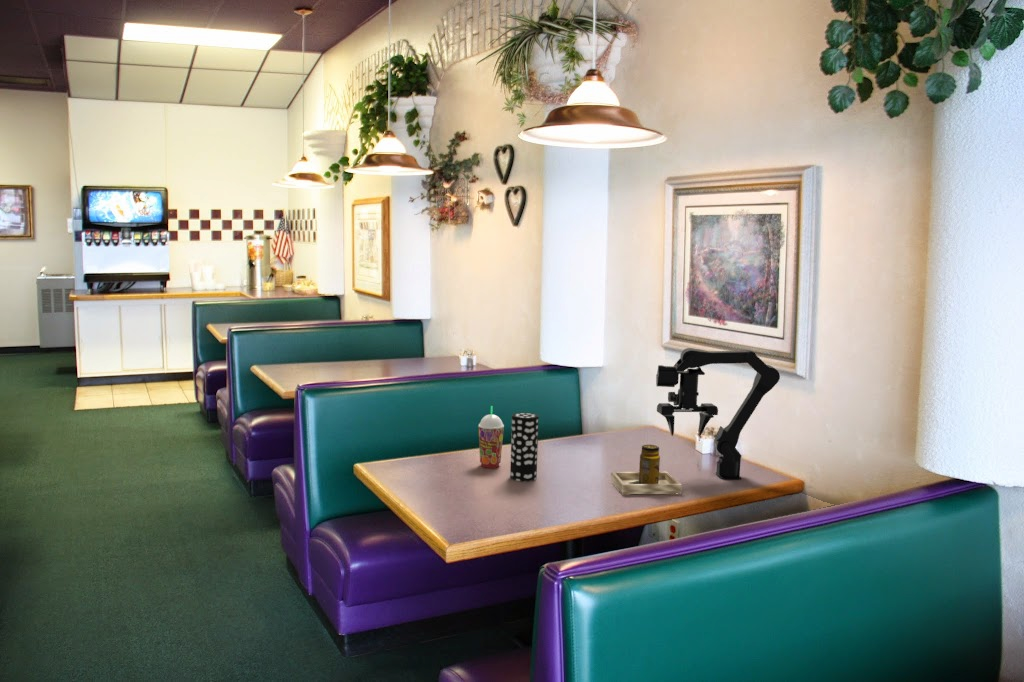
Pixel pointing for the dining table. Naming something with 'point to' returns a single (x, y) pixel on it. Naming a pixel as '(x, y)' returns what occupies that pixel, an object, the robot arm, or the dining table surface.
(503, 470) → the dining table surface
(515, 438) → the white-spotted black cylinder
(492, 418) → the smoothie
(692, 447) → the dining table surface
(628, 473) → the tray
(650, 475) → the condiment
